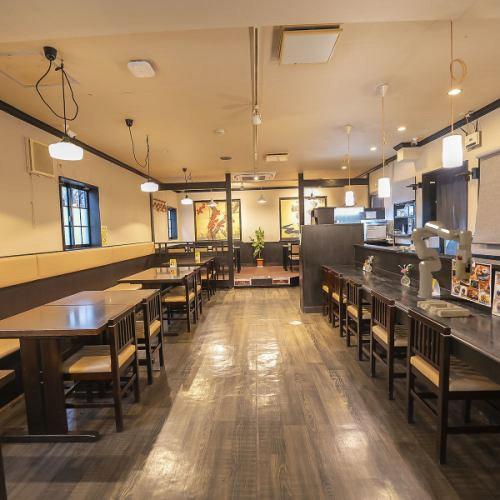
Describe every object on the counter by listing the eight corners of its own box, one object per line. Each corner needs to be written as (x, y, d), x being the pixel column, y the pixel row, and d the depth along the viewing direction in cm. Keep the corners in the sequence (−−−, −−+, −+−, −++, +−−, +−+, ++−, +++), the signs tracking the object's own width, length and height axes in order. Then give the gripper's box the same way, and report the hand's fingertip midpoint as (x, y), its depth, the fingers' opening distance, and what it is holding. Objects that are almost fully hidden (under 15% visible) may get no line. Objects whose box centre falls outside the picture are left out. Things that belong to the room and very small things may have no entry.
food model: (456, 281, 222) (457, 254, 220) (453, 279, 228) (455, 253, 226) (472, 282, 219) (473, 254, 217) (469, 280, 225) (470, 253, 223)
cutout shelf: (417, 306, 231) (417, 301, 231) (442, 305, 232) (442, 300, 232) (440, 316, 205) (440, 311, 205) (469, 316, 206) (469, 310, 206)
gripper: (451, 246, 229) (450, 270, 231) (469, 248, 212) (467, 273, 214) (460, 246, 230) (459, 269, 231) (479, 248, 212) (477, 273, 214)
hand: (463, 271), depth 223 cm, fingers closed on food model, 7 cm apart
